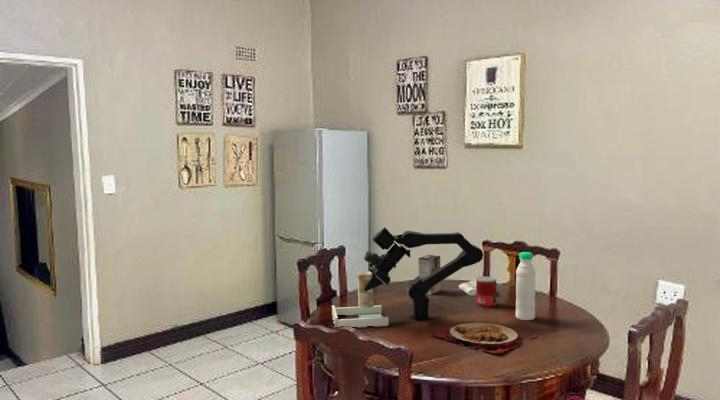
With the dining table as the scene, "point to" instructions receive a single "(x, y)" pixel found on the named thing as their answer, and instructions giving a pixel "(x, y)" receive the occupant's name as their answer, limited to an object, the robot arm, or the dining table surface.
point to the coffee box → (429, 269)
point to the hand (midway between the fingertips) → (363, 288)
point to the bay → (360, 316)
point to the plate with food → (482, 336)
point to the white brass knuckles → (469, 287)
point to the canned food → (486, 291)
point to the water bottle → (525, 288)
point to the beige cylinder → (364, 296)
